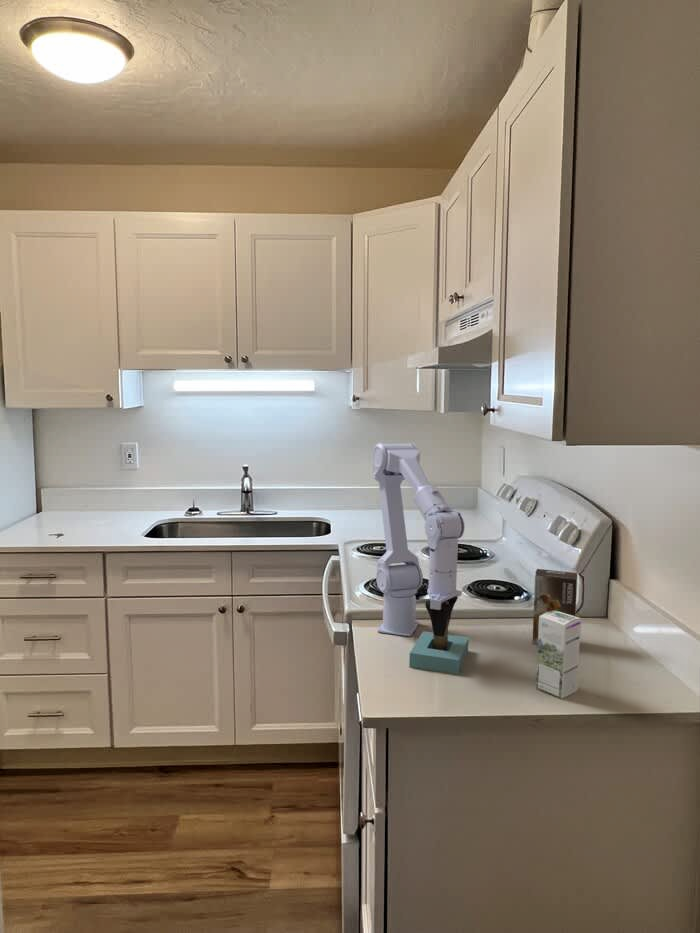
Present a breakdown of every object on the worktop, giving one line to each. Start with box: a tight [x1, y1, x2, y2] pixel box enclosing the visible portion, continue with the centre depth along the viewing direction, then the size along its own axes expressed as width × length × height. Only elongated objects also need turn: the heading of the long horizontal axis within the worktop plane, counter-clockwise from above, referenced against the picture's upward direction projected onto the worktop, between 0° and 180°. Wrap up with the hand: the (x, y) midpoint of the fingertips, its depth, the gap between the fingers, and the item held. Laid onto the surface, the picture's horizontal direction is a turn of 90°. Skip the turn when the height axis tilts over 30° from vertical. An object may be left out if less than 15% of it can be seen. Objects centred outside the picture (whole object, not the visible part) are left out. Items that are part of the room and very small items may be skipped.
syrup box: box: [535, 611, 582, 700], centre depth 120 cm, size 6×6×14 cm
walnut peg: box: [433, 601, 449, 651], centre depth 134 cm, size 3×3×10 cm
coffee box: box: [531, 568, 578, 646], centre depth 144 cm, size 9×6×16 cm
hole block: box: [408, 630, 470, 676], centre depth 134 cm, size 13×10×3 cm
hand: (440, 632), depth 134 cm, fingers closed on walnut peg, 3 cm apart
